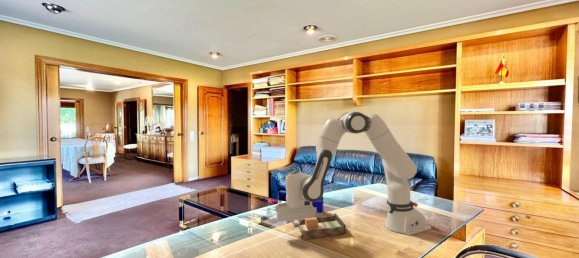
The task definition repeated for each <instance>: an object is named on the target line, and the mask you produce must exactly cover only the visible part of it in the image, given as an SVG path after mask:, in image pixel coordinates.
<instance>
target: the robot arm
mask: <svg viewBox="0 0 579 258" xmlns="http://www.w3.org/2000/svg"><path fill="white" fill-rule="evenodd" d="M347 133H349V134H356V135H357V134H361V133H364V134H365V135H366V136H367V138H368V140H369V141H370V143H371V144H372V146H373V148H374V149H375V151H376V152H377V153H378V154H379V156H380V157H381V163H382V167H383V171H384V176H385V177H384V178H385V181H386V187H387V190H386V192H387V199H386V211H387V215H386V219H385V224H384V225H385V228H386V229H388V230H389V231H391V232H395V233H401V234H404V235H408V236H411V235H416V234H419V233H423V232H427V231H430V230H431V229H432V226H431V224H430V223H428V221H427V220H426V216H425V215H424V214H423V213H422V212H420V211H419V210H418V209H416V208H417V207H418V206H419V204H418V203H417V202H416V201H413V200H411V186H410V184H409V181H408V180H410V179H413V178H414V177H415V176H416V174H417V172H418V171H417V170H418V169H417V168H418V167H417V165H416V163H415V162H414V161H413V159H411V157H410V156H409V154H408V153H407V152H406V151H405V150H404V148H403V147H402V146H401V145H400V144H399V143H398V141H397V140H396V138H395V137H394V135H393V133H392V131H391V130H390V128H389V127H388V125H387V123H386V122H385V121H384V120H383V118H381V116H379V114H377V113H372V114H371V113H370V114H368V115H366V114H364V113H363V112H359V111H349V112H345V113H343V114H342V115H341V116H340V117H338V118H334V117H332V118H329V119H327V120H326V122H324V124H323V127H322V128H321V131H320V132H319V134H318V137H317V140H316V144H315V145H316V146H315V151H316V163H315V166H314V170H313V172H312V175H311V174H307V173H304V172H302V171H300V170H298V169H296V170H295V169H293V170H291V171H289V172H287V173H286V175H285V178H284V179H285V183H284V185H285V191H286V195H285V200H286V202H279V203H277V204H276V205H275V212H276V220H277V222H278V223H279V222H280V223H281V222H288V221H291V223H292V225H293V229H295V228H299V224H300V222H301V219H305V218H313V217H314V216H315V211H314V207H313V205H312V202H316V201H318V200H320V199H321V198H322V196H323V197H324V192H325V191H324V185H325V184H324V183H325V180H326V176H327V174H328V172H329V168H330V165H331V162H332V160H333V158H334V156H335V153H336V152H337V149H338V146H339V145H340V142H341V140H342V139H341V138H342V137H343V136H344V135H345V134H347ZM296 220H297V222H295V221H296Z"/></svg>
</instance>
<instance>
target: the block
mask: <svg viewBox="0 0 579 258" xmlns="http://www.w3.org/2000/svg"><path fill="white" fill-rule="evenodd" d="M305 226H306V228H307V230H309V229H316V228H318V220H317V218H316V217H313V218H305Z"/></svg>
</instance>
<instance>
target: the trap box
mask: <svg viewBox="0 0 579 258" xmlns="http://www.w3.org/2000/svg"><path fill="white" fill-rule="evenodd" d="M316 218H317V220H318V228H316V229H309V230H307V228H306V226H305V219H301V222H300V224H299V227H298V229H299V231H300V233H301V236H302V239H303V240H312V239H313V240H314V239H319V238H328V237H334V236H342V235H347V234H346V233H347V232H346V224H345V222H344V221H343V220H342V219H341V217H340V216H339V215H338V214H337V213H333V214H332V215H325V216H324V215H323V217H316Z"/></svg>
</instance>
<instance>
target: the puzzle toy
mask: <svg viewBox="0 0 579 258" xmlns="http://www.w3.org/2000/svg"><path fill="white" fill-rule="evenodd" d="M312 205H313V207H314V211H315V216H314V217H323V216H324V213H325V211H324V210H325V208H324V207H325V206H324V195H323V196H322V198H321V199H320V200H318V201H316V202H312Z"/></svg>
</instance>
